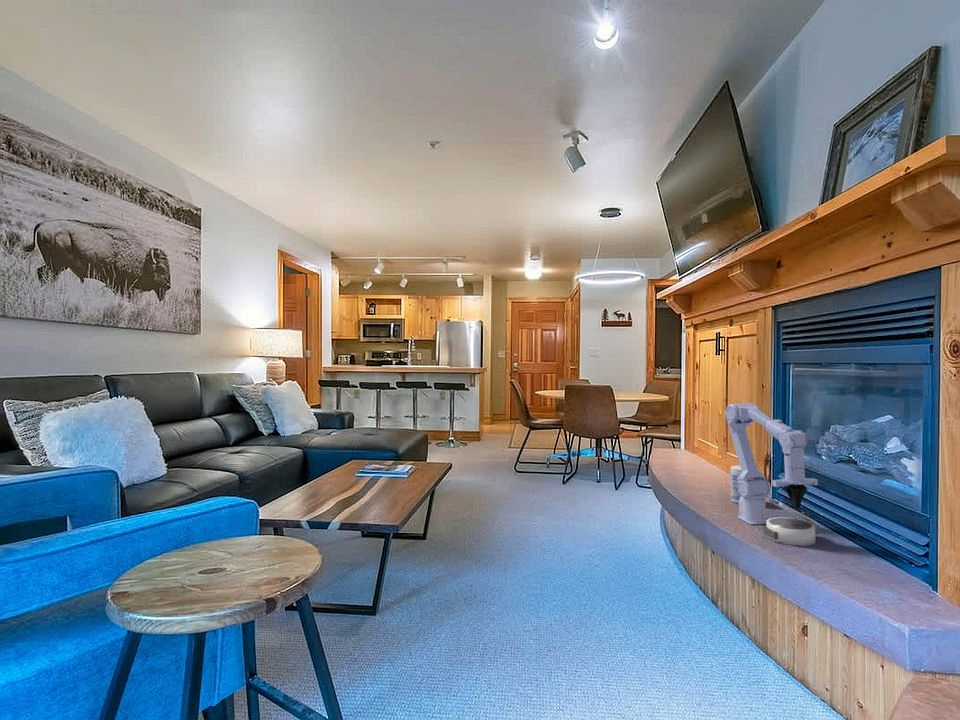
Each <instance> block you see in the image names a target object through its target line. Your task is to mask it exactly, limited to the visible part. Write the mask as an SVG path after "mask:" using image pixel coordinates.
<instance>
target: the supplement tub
mask: <svg viewBox="0 0 960 720" xmlns="http://www.w3.org/2000/svg"><path fill="white" fill-rule="evenodd" d="M741 473H742V471H741V467H740V465H732V466H731V467H730V500H731V502H733V503H735V504H738V505H739V499H740V497H741V494H740V493H739V491H738V481H737V477H738V476H739V475H740V474H741ZM748 480H754V479H748Z"/></svg>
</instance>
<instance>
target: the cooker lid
mask: <svg viewBox="0 0 960 720" xmlns="http://www.w3.org/2000/svg"><path fill="white" fill-rule="evenodd" d="M769 502H770V503H771V504H773V505H775V506H777V507H779V508H780V509H783V510H784V511H786V512H787V513H790V514H792V515H794V516H796V517H798V518H799V519H801V520H804V521H809V522H811V523H813V524H817V521H816V520H814V518H813V519H812V518H811V517H809V515H810V513H808V512H807V511H805V510H802V511H801V512H799V511H797V510H796V509H793V507H792V508H791V507H789V506H787V505H785V504H783V503H780V502H779V501H777V500H774V499H773V498H770V499H769Z"/></svg>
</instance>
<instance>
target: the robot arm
mask: <svg viewBox="0 0 960 720" xmlns="http://www.w3.org/2000/svg"><path fill="white" fill-rule="evenodd" d="M724 415H725V418H726V421H727V425H728V427H729V428H728V429H729V432H730V436H731V438H732V442H733V445H734V448H735V449H734V450H735V453H736V456H737V459H738V463H739V466H740V467H741V471H742V473H741V474H740V475H739V476H738V477H737V481H738V491H739V493H740V494H741V497H740V499H739V504H738V514H739V515H737V516H736V517H737V518H738V519H740V520H742V521H743V522H745V523H747V524H748V525H767V524H766V520H767V513H766V511H767V510H766V509H767V508H766V499H767V497H768V495H770V492H771V486H770V483H769V481H768V480H767V478H766V476H765V474H764V473H762V472H761V471H760V470H758V468H757V463H756V461H755V457H754V454H753V451H752V446H751V443H750V440H749V437H748V433H747V430H746V429H747V427H748V426H750V425H751V424H752V423H753V422H756V423H757V424H759V425H760V426H763V427H764V428H765V430H766V433H767V434H769V435H770V436H772V437H773V438H775V440H778V441H779V444H780V446H781V449H782V450H781V452H782V453H783V455H784V456H783V458H784V478H780V479H779V478H778V479H772V481H771V482H772V487H775V488H780V487H783V488H784V490H785V492H786V493H787V495H788V497H789V500H790V503H791V507H792V508H795V509H800V508H801V504H802V500H803V498H804V495H805V494H806V493H807V491H808V487H807V486H818V484H819V482H818V481H819V480H818V479H817V478H812V477H810V478H807V477H806V475H805V473H806V472H805V450H804V449H805V448H806V447H807V445H808V442H809V439H808V436H807V434H806V433H805V432H804V431H803V430H801V429H799V430H798V429H797V430H795V429H793V427H791V426H788V425H786V424H785V423H783V420H781V419H771V418H770V417H769V416H768V415H767V414H765V413H764V412H762V411H761V410H760V409H759V406H758V405H755V404H754V403H753V402H748V403H737V404H735V403H731V404H728V405H727V407H726V409H725V411H724ZM748 479H754V480H748Z"/></svg>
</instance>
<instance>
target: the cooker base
mask: <svg viewBox="0 0 960 720" xmlns="http://www.w3.org/2000/svg"><path fill="white" fill-rule="evenodd" d="M765 525H766V526H763V534H764V535H766V537H767V538H768V539H769V538H770V539H769V540H771V539H772V540H771V541H773V540H774V541H773V542H775V541H776V542H775V543H778V542H779V543H778V544H783V545H787V544H789V545H788V546H795V545H798V546H799V547H806V546H812V545H815V544H816V541H817V539H816V535H820V533H821V532H820V531H821V530H820V525H819V524H818V523H816V524H813V523H811V522H809V521H806V520H804V519H801V518H793V517H784V516H783V517H782V516H781V517H780V516H778V517H770V518H766V524H765Z"/></svg>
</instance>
